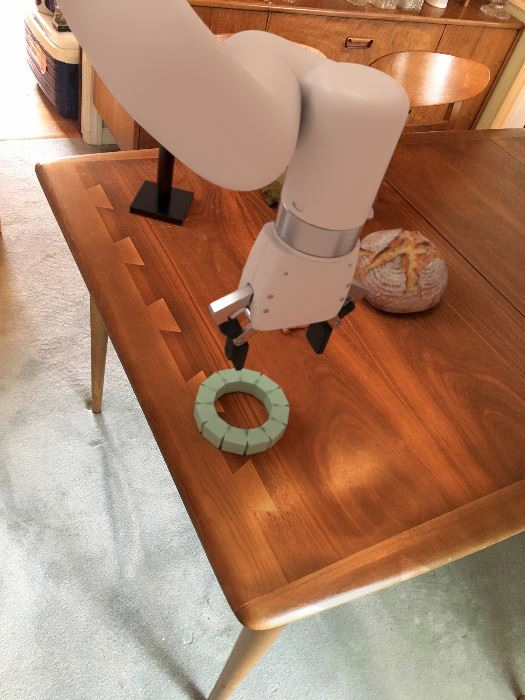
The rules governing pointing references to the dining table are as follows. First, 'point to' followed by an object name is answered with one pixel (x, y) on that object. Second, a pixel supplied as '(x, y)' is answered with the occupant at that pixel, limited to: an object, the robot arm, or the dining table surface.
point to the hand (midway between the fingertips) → (275, 352)
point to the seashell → (274, 189)
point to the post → (163, 194)
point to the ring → (232, 436)
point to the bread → (401, 271)
